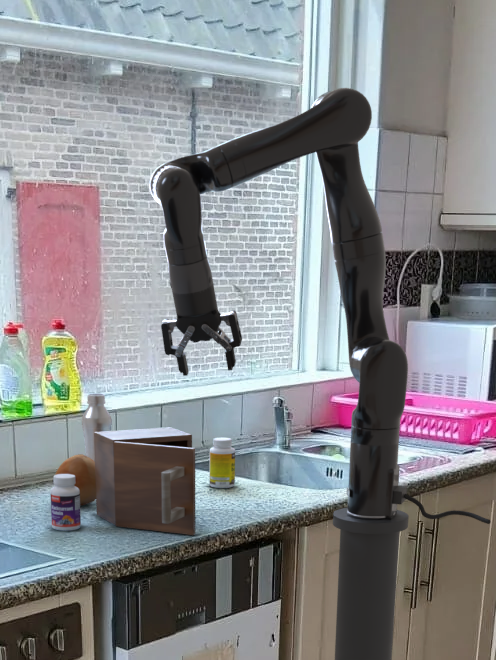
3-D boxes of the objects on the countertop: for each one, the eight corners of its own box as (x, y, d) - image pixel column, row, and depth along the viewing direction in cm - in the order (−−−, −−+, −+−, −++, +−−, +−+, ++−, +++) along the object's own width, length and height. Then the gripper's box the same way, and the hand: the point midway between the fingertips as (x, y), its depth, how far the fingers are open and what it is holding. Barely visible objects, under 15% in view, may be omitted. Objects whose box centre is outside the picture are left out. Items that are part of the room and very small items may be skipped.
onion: (56, 499, 246) (54, 450, 243) (105, 499, 247) (103, 450, 244) (53, 510, 237) (51, 459, 234) (104, 509, 238) (102, 459, 235)
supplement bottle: (235, 489, 259) (235, 441, 255) (209, 488, 259) (209, 441, 255) (234, 483, 264) (235, 436, 260) (209, 483, 264) (209, 436, 260)
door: (177, 543, 213) (176, 454, 208) (98, 534, 219) (95, 447, 213) (195, 534, 220) (195, 448, 214) (118, 525, 226) (116, 441, 220)
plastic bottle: (84, 494, 252) (80, 396, 244) (83, 487, 258) (79, 392, 251) (115, 493, 253) (112, 396, 245) (113, 487, 259) (110, 392, 252)
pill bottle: (47, 530, 222) (45, 477, 218) (57, 523, 227) (54, 472, 223) (76, 531, 221) (74, 479, 217) (84, 525, 226) (82, 473, 222)
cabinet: (192, 517, 233) (192, 434, 227) (115, 525, 226) (113, 440, 220) (171, 507, 241) (170, 427, 235) (96, 514, 234) (93, 432, 228)
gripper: (233, 272, 215) (248, 359, 225) (157, 282, 218) (174, 368, 227) (228, 286, 209) (243, 375, 219) (149, 296, 212) (168, 383, 221)
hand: (208, 371), depth 223 cm, fingers open, 8 cm apart
